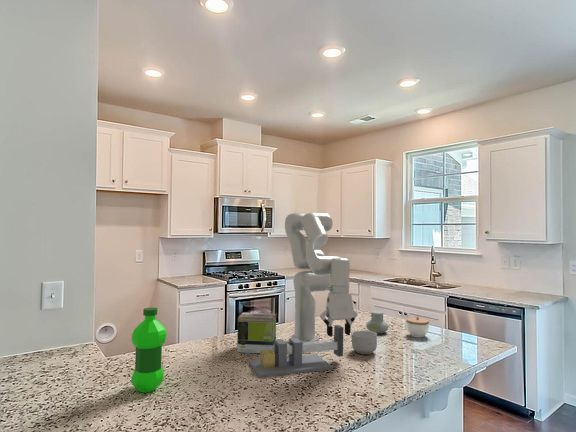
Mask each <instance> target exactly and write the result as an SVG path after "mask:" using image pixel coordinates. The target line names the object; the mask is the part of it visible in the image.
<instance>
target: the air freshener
mask: <svg viewBox="0 0 576 432" xmlns="http://www.w3.org/2000/svg"><path fill="white" fill-rule="evenodd" d="M365 326H366V329H367V330H370V331H372V332H375V333H377V335H378V334H383V333H386V332H387V331H388V330H389V324H388V323H387V321H385V320H384V312H382V311H380V310H379V311H378V310H372V311H371V319H370V320H368V321H367V322H366V325H365Z"/></svg>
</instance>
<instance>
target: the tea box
mask: <svg viewBox="0 0 576 432" xmlns="http://www.w3.org/2000/svg"><path fill="white" fill-rule="evenodd" d="M275 339H277V313H275V312H274V313H273V312H271V313H270V312H242V313H240V315H238V317H237V340H236V341H237V345H236V346H237V350H236V351H237V353H245V354H246V353H248V354H249V353H250V354H261V350H272V351H273V352H274V340H275Z"/></svg>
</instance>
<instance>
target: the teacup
mask: <svg viewBox="0 0 576 432" xmlns="http://www.w3.org/2000/svg"><path fill="white" fill-rule="evenodd" d="M350 336H351V348H352V349H353V350H354V351H355V353H357V354H359V355H371V354H373V353H374V352H375V351H376V350H377V348H378V347H377V346H378V337H377V336H378V334H377V333H375V332H372V331H370V330H368V329H367V330H355V331H351V332H350Z"/></svg>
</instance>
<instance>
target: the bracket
mask: <svg viewBox="0 0 576 432" xmlns="http://www.w3.org/2000/svg"><path fill="white" fill-rule="evenodd" d="M288 339H289V341H288V342H289V343H287V341H285V340H284V339H283V338H278V339H277V338H276V339H275V340H274V353H275V368H268V369H264V368H263V367H262V366H261V364H260V359H255V360H254V359H253V360H248V364H249V366H250V367H251V368H252V370H253V371H254V372H255V375H257V377H258V378H265V377H276V376H284V375H292V374H293V375H294V374H303V373H311V372H318V371H319V372H320V371H327V370H328V371H330V370H333V366H332V365H331V364H330V363H329V362H327V361H326V360H325V359H324V358H322V357H321V356H320V355H318V354H307V355H303V353H302V341H300V340H299V339H298V338H291V337H290V338H288ZM290 343H292V344H293V345H294V354H288V355H287V344H290Z"/></svg>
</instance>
